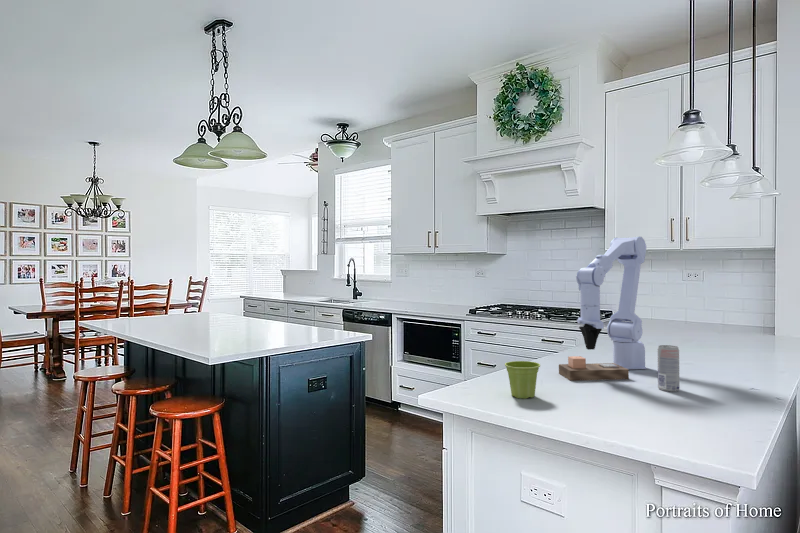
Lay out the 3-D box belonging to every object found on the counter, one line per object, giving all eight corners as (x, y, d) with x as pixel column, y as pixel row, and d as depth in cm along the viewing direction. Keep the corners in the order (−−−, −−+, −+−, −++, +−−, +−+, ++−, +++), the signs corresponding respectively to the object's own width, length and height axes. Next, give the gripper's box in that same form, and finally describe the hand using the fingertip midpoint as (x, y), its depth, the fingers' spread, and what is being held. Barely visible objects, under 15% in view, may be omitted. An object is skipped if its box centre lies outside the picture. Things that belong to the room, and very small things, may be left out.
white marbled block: (611, 372, 164) (611, 363, 164) (617, 375, 160) (617, 366, 160) (599, 373, 164) (599, 363, 164) (604, 376, 160) (604, 366, 160)
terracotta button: (580, 365, 164) (580, 356, 164) (585, 368, 160) (585, 358, 160) (568, 366, 164) (568, 356, 164) (573, 368, 160) (572, 358, 160)
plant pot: (502, 399, 137) (502, 366, 137) (507, 390, 146) (507, 360, 146) (539, 401, 134) (538, 368, 134) (542, 393, 143) (541, 361, 143)
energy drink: (674, 387, 147) (674, 345, 147) (682, 391, 142) (682, 348, 142) (654, 387, 148) (654, 345, 148) (662, 391, 142) (662, 348, 142)
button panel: (613, 372, 168) (613, 363, 168) (628, 379, 158) (628, 369, 158) (558, 373, 167) (558, 364, 167) (570, 380, 157) (570, 370, 157)
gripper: (568, 304, 169) (569, 345, 169) (587, 307, 154) (587, 353, 155) (590, 303, 169) (590, 345, 169) (610, 307, 155) (610, 352, 155)
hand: (590, 349), depth 162 cm, fingers closed
